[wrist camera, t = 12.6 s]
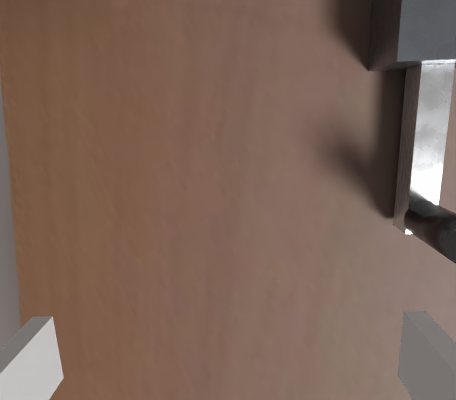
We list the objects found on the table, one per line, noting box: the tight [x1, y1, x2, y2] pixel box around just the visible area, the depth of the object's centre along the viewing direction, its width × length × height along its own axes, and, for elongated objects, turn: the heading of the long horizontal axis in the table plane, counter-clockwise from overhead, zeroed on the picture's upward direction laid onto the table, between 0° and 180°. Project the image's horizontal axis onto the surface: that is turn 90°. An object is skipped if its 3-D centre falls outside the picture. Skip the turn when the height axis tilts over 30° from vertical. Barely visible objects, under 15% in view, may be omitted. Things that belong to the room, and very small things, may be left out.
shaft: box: [393, 63, 456, 263], centre depth 37 cm, size 26×4×14 cm, turn 2°
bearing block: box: [368, 0, 456, 71], centre depth 38 cm, size 10×12×8 cm
